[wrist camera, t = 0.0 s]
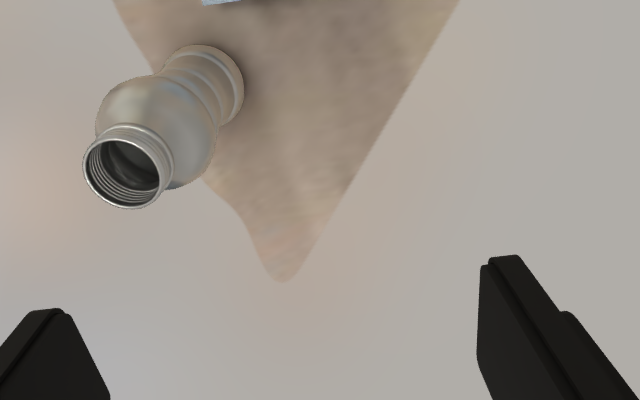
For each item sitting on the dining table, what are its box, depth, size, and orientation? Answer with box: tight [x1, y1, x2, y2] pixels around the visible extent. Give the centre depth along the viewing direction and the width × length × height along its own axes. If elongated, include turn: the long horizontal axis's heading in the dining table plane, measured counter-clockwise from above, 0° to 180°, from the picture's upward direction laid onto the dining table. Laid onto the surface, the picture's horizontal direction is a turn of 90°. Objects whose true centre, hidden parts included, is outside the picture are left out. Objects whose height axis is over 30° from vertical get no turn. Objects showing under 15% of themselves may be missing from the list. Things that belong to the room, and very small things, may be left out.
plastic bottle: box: [82, 45, 244, 209], centre depth 29 cm, size 6×7×20 cm
